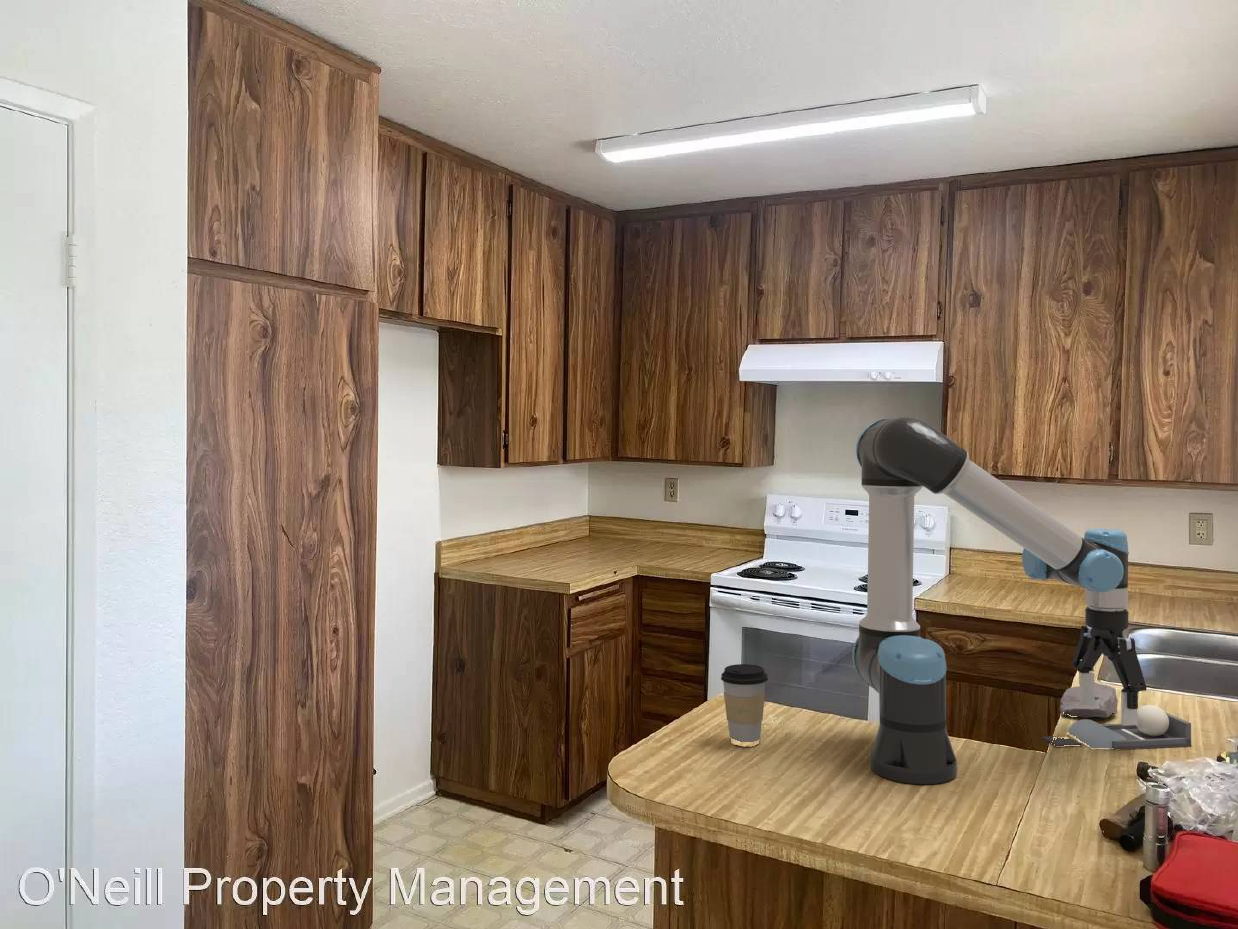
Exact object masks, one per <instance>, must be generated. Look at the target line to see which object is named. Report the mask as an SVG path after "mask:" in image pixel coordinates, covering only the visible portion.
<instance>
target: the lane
mask: <svg viewBox="0 0 1238 929" xmlns="http://www.w3.org/2000/svg"><path fill="white" fill-rule="evenodd" d="M1164 712H1165V713H1166V714H1167V716H1168V718H1169V727H1168V729H1167V731H1166V732H1165V733H1164V734H1162V735H1160V736H1148V735H1146V734H1144V733H1142V732H1141V731H1140V730H1139V729H1138V728H1137V726H1136V725H1128V726H1124V725H1121V723H1107V724H1105V723H1104V724H1101V725H1102V726H1104V727H1106V728H1108V729H1110V730H1112V731H1114V732H1116V733H1118V734H1120V735H1122V736H1123V737H1125V738H1126V739H1127V740H1121V741H1112V748H1114V749H1126V750H1142V749H1143V750H1144V749H1146V750H1147V749H1164V748H1184V747H1185V748H1186V747H1187V748H1188V747H1192V723H1191V722H1190V721H1187V720H1184V719H1182V718H1181V717H1178V716H1175V715H1173V714H1170V713H1168V712H1166V711H1164ZM1114 749H1113V750H1114Z"/></svg>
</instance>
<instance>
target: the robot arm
mask: <svg viewBox="0 0 1238 929" xmlns="http://www.w3.org/2000/svg"><path fill="white" fill-rule="evenodd" d="M855 456H856V460H857V462H858V464H859V465H860V467H861V483H860V484H861V487H862V489H864V490H865V492H866V493H867V494H868V536H867V537H868V538H867V540H868V543H867V544H868V545H867V548H868V549H867V552H868V553H867V597H866V598H867V601H866V602H867V603H866V604H867V606H866V608H867V609H866V612H867V613H866V614H865V616H864V617H863V618H862V619H861V620H859V622H858V637H857V638H856V640H855V642H854V644H853V648H852V662H853V664H854V667H855V670H856V671H857V674H858V675H859V677H860V678H861V680H862V681H863V682H865V683H866V685H868V686H869V687H871V688H872V689H873V690H875V691H876V692H877V694H878V695H879V696H878V704H879V705H878V706H879V710H878V713H879V714H878V715H879V726H878V730H877V733H876V736H875V739H874V742H873V744H872V748H871V750H870V751H871V752H870V755H869V760H870V763H869V765H870V769H871V770H872V771H873V772H874V774H876V775H878V776H881V777H882V778H885V779H888V780H891V781H895V782H900V783H905V784H913V785H914V784H915V785H934V784H935V785H936V784H937V785H938V784H942V783H946V782H950V781H952V780H953V779H955V778H956V777H957V776H958V763H957V762H958V760H957V758H956V754H955V752H954V749H953V747H952V742H951V740H950V737H949V734H948V732H947V682H946V681H947V674H946V673H947V669H948V667H947V666H948V665H947V662H946V654H945V651H944V649H943V648H942V646H941V645H940V644H938V643H937V642H935V641H934V640H931V639H928V638H923V637H922V636H921V624H919V623H918V622H917V620H915V619H914V618H913V617H914V616H913V600H914V599H913V594H914V593H913V587H914V547H915V546H914V545H915V544H914V542H915V540H914V538H915V532H914V531H915V496H916V494H917V493H919V492H920V491H921V490H922V489H923V487H924V488H925V489H927V490H928V491H930V492H931V493H932V494H934V495H938V494H940V495H941V494H944V495H945V496H947V497H949V498H950V499H952V500H953V501H954V502H956V503H957V504H959V505H960V506H962V507H963V508H965V509H966V510H967V511H969V512H970V513H972V514H973V515H974V516H976V517H978V518H979V519H981V520H982V521H983V522H985V523H987V524H988V525H990V526H991V527H993V529H996V530H997V531H998V532H1000V533H1001V534H1003V535H1004V536H1006V537H1007V538H1008V539H1010V540H1011V541H1013V542H1015V543H1016V544H1017V545H1019V546H1021V547H1022V548H1023V550H1022V553H1021V554H1022V555H1021V563H1022V567H1023V571H1024V573H1025V575H1026V576H1027V577H1029V578H1030V579H1031V580H1042V581H1046V580H1055V581H1059V582H1063V583H1065V584H1069V585H1073V586H1076V587H1080V588H1082V589H1084V604H1085V605H1086V606H1087V607H1086V608H1085V609H1084V610H1085V614H1084V615H1085V616H1084V617H1085V618H1084V620H1085V625H1081V626H1080V634H1079V638H1078V642H1077V645H1076V649H1075V652H1074V654H1073V658H1072V662H1071V665H1072V667H1075V668H1076V670H1077V672H1078V674H1079V677H1078V678H1079V686H1080V705H1095V683H1096V682H1095V669H1094V668H1095V666H1096V664H1097V662H1098V661H1099V660H1100V658H1101V656H1102V655H1103V656H1105V657H1107V659H1108V661H1110V662H1111V663H1112V665H1113V667H1114V670H1115V671H1116V672H1115V673H1116V674H1117V676H1118V678H1119V681H1120V683H1121V685H1122V687H1123V688H1121V690H1120V695H1121V696H1120V699H1121V701H1120V703H1121V705H1120V707H1121V708H1120V709H1121V710H1120V711H1121V712H1120V713H1121V714H1120V715H1121V716H1120V719H1121V721H1120V724H1121V725H1124V726H1128V725H1137V710H1138V709H1139V692H1143V691H1144V692H1145V691H1147V685H1146V682H1145V678H1144V675H1143V674H1144V673H1143V671H1142V668H1141V664H1140V661H1139V657H1138V654H1137V651H1136V641H1135V639H1134V638H1133V637H1127V638H1125V637H1124V634H1123V632H1124V631H1125V630H1127V629H1128V628H1129V625H1130V624H1129V611H1128V609H1127V608H1128V607H1129V589H1128V588H1129V554H1130V552H1129V545H1128V543H1129V542H1128V536H1127V534H1126V532H1124V531H1123V530H1119V529H1112V528H1093V529H1091V528H1089V529H1087V530H1085V531H1084V536H1083V537H1081V536H1080V535H1079V534H1077V533H1076V532H1074V530H1071V529H1070V528H1069V527H1067V526H1066V525H1064V524H1063V523H1062V522H1060V521H1059V520H1057V519H1056V518H1054V517H1053V516H1051V515H1050V514H1049V513H1048V512H1046V511H1044V510H1043V509H1042V508H1040V507H1038V506H1037V505H1035V504H1034V503H1033V502H1031V501H1029V500H1028V499H1027V498H1026V497H1024V496H1022V495H1021V494H1019V493H1018V492H1016V491H1015V490H1014V489H1012V488H1011V487H1010V486H1008V485H1007V484H1006V483H1004V482H1002V481H1001V480H999V479H998V478H996V477H995V476H993V475H992V474H990V472H988V471H987V470H985V469H983V468H981V467H980V466H979V465H977V464H976V463H975V462H973V461H971V460H970V454H969V452H968V451H967V450H966V449H964V448H963V447H961V446H960V445H959V444H957V443H956V442H955V441H954V440H952V439H950V438H949V437H948V436H947V435H945V434H944V433H942V432H941V431H940V430H938V429H937V428H935V427H934V426H932V425H931V424H929V423H927V422H926V421H925V420H922V419H919V418H916V417H913V416H900V417H889V418H887V417H886V418H881V419H878V420H876V421H874V422H872V423H871V424H869V425H867V426H866V427H865V428H864V429H863V430H862V432H861V433H860V434H859V437H858V438H857V441H856V444H855ZM1094 682H1095V683H1094Z"/></svg>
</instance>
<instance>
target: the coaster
mask: <svg viewBox="0 0 1238 929" xmlns="http://www.w3.org/2000/svg"><path fill="white" fill-rule="evenodd" d="M1056 736H1057V735H1055V737H1056ZM1053 737H1054V736H1051V735H1050V736H1042V740H1043V741H1045V742H1046V743H1049V745H1051V746H1053V745H1054V744H1055V746H1064V745H1081V746H1082V743H1080V742H1078V741H1076V740H1074V739H1073V738H1072V739H1071V737H1070V738H1069V739H1064V738H1062V739H1061V738H1058V737H1057V739H1056V740H1055V738H1054V740H1053ZM1052 741H1053V742H1052ZM1051 743H1052V744H1051ZM1055 746H1054V747H1055Z"/></svg>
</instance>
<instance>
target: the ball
mask: <svg viewBox="0 0 1238 929" xmlns="http://www.w3.org/2000/svg"><path fill="white" fill-rule="evenodd" d="M1165 712H1166V711H1164V710H1163V709H1162V708H1160V707H1159V706H1156V705H1153V704H1147V705H1143V706H1140V707H1138V709H1137V725H1136V726H1137V728H1138V729H1139V730H1140V731H1141V732H1142V733H1144V734H1146V735H1148V736H1160V735H1162V734H1164V733H1165V732H1166V731H1167V729H1168V727H1169V718H1168V716H1167V714H1166V713H1167V712H1166V713H1165Z"/></svg>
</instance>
